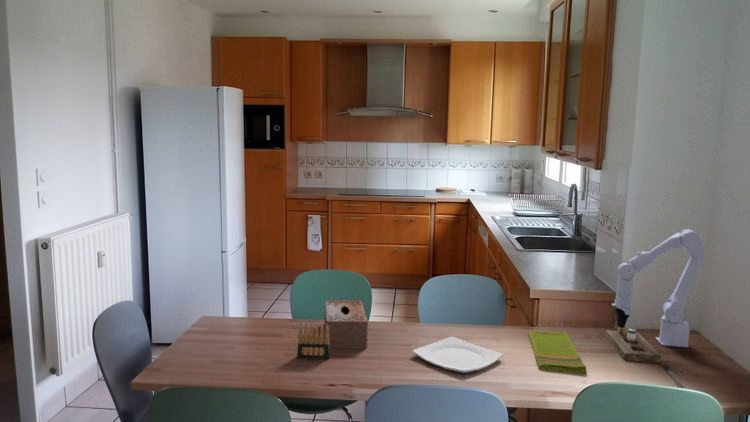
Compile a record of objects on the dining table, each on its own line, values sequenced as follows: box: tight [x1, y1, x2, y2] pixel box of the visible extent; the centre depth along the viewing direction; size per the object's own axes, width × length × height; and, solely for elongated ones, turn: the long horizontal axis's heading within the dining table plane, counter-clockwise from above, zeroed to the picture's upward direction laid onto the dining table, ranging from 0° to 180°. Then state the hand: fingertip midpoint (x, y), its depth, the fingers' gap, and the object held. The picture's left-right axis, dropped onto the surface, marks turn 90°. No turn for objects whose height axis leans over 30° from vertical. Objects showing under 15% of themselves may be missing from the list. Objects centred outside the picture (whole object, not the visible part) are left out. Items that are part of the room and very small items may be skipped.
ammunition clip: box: [296, 322, 330, 360], centre depth 192 cm, size 11×2×12 cm, turn 91°
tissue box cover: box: [324, 299, 369, 349], centre depth 214 cm, size 26×14×10 cm, turn 6°
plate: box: [411, 336, 504, 374], centre depth 196 cm, size 24×24×3 cm
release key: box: [617, 326, 630, 337], centre depth 219 cm, size 4×5×2 cm
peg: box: [626, 327, 638, 343], centre depth 213 cm, size 3×3×7 cm
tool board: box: [605, 329, 661, 363], centre depth 212 cm, size 12×24×2 cm, turn 173°
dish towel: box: [528, 330, 587, 375], centre depth 206 cm, size 15×36×3 cm, turn 171°
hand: (620, 327), depth 225 cm, fingers closed
